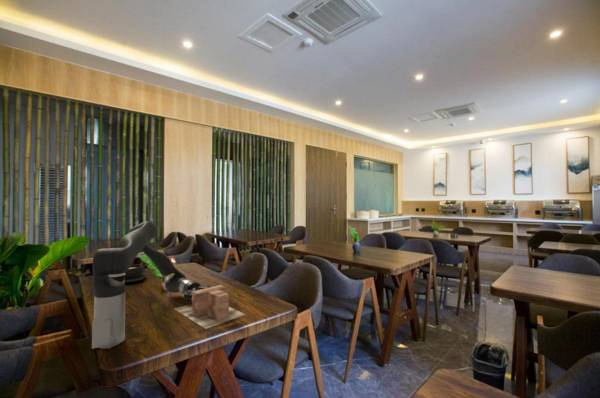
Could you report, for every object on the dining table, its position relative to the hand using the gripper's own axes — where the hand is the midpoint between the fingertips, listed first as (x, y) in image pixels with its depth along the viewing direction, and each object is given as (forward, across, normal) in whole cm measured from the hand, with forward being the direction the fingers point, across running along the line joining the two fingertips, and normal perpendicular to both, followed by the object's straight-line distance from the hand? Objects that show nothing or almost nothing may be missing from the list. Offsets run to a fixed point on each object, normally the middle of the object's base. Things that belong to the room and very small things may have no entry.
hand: (206, 295), depth 127 cm
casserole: (-83, -8, +7) cm, 84 cm away
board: (+2, 0, +7) cm, 8 cm away
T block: (+7, 0, +6) cm, 10 cm away
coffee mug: (-60, -20, +7) cm, 63 cm away
